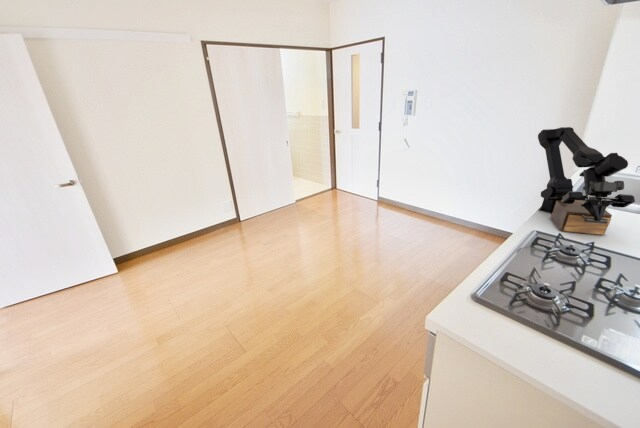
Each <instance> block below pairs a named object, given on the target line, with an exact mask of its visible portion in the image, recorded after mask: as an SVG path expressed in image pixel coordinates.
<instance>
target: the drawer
mask: <svg viewBox="0 0 640 428" xmlns="http://www.w3.org/2000/svg"><path fill="white" fill-rule="evenodd" d="M611 221H612V217H611V218H608V217H605V216H603V217H602V219H601V221H596V220H595V218H594V217H593V216H592V215H589V216H584V215H577V214H569V215H568V218H567V221H566V223H565V226H564V229H563V230H564V231H563V232H567V231H571V232H570V233H577V232H581V233H580V234H587V233H591V234H590V235H597V234H601V235H600V236H604V235H605V234H606V232H607V230H608V227H609V226H610V223H611Z"/></svg>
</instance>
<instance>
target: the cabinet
mask: <svg viewBox="0 0 640 428" xmlns="http://www.w3.org/2000/svg"><path fill="white" fill-rule="evenodd" d="M582 204H583V202H574V203H572V204H566V203H562V201H556V204H555V207H554V210H553V213H551V216H550V221H552V223H553V224H554V225H555V226H556V227H557V228H558V230H559V231H560V232H565V231H564V230H563V229H564V226H565V223H566V221H567V218H568V215H569V214H580V215H591V214H590V212H589V211H588V210H587V209H586V208H585V207H582V206H581V205H582ZM603 216H605V217H608V218H611V219H612V216H613V215H612V214H611V213H610V212H608V211H607V210H605V212H604V214H603ZM567 232H568V233H572V232H571V231H566V233H567ZM576 233H579V234H582V233H581V232H576ZM586 234H588V235H589V234H590V235H592V234H591V233H586ZM596 235H599V236H602V235H601V234H596Z"/></svg>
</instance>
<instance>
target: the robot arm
mask: <svg viewBox="0 0 640 428" xmlns="http://www.w3.org/2000/svg"><path fill="white" fill-rule="evenodd" d="M537 140H538V143H539V145H540V146H541V147H542V148H543V149H544V150H545V156H546V162H547V168H548V174H549V180H548V182H547V184H546V188H545V189H543V190H541V191H540V197H541V198H543V200H542V203H541V206H540V208H539V209H538V210H539V211H541V212H546V213H550V214H552V213H553V210H554V207H555V204H556V201H562V203H566V204H572V203H574V202H575V200H581V201H583V204H582V205H581V206H582V207H585V208H586V209H587V210H588V211H589V212H590V214H591V215H592V216H593V217H594V218H595V220H596V221H601V219H602V217H603V214H604V212H605V210H606V208H607V209H608V207H610V206H611V207H612V208H626V207H629V206H630V205H632V204H634V203H635V202H636V197H635V196H634V195H633V194H624V193H623V194H622V193H619V194H617V195H615V196H611V195H613V194H612V193H618V191H624V189H625V182H624V180H614V181H607V180H606V177H608V178H609V177H611V176H613V175H615V174H617V173H619V172H622V171H623V170H625V169H627V168H628V166H629V162H628V159H626V158H625V157H623V156H622V155H619V153H618V152H610V153H609V154H608V155H606V156H604V154H603V153H601V152H600V150H598V149H596V148H593V147H590V146H588V145H587V144H586V143H585V141H583V139H582V138H581V137H579V134H577V133H576V132H575V129H574V127H572V126H567V127H566V126H563V127H562V126H561V127H558V128H549V129H547V128H546V129H542V130H540V131H539V133H538V134H537ZM561 143H563V144H564V145H565V146H566V148H568V149H567V150H569V151H570V152H571V154H572V161H573V163H574V165H575V166H576V167H577V168H586V169H583V170H582V172H580V173H579V174H578V176H579V177H583V183H584V186H583V187H582V190H583V191H585V192H584V194H583V192H582V191H574V189H573V188H574V185H573V179H572V178H567V177H566V176H565V171H564V166H563V165H564V164H563V160H562V154H561V149H560V145H561ZM584 195H586V196H584ZM606 211H607V210H606Z"/></svg>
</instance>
